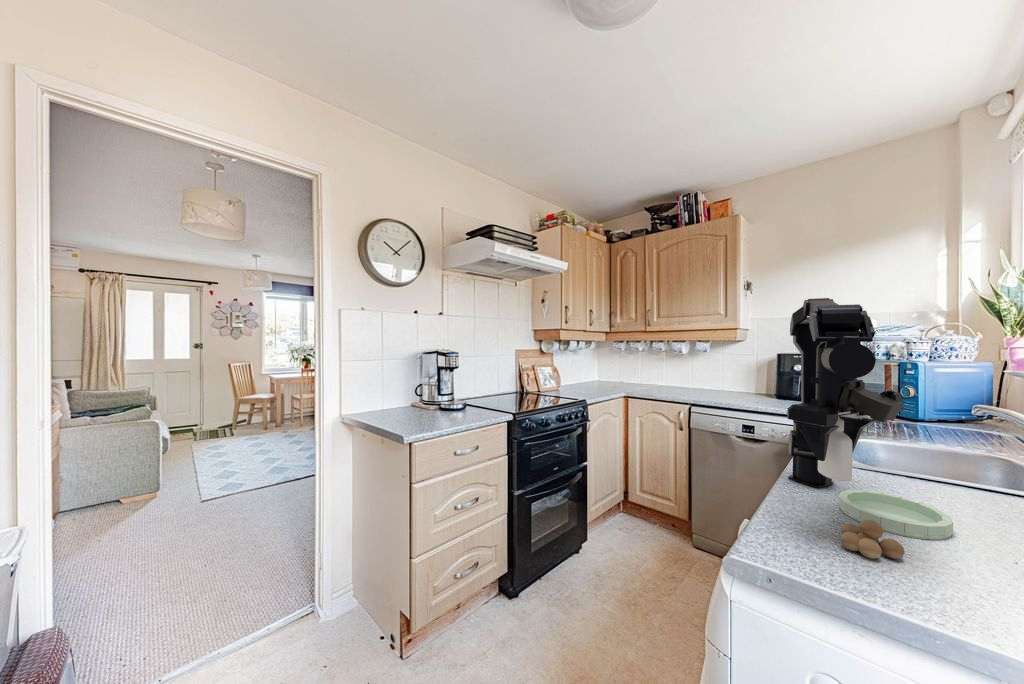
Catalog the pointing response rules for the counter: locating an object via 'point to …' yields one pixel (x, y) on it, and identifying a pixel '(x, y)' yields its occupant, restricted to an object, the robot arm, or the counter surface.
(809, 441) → the robot arm
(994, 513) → the counter surface
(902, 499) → the sage dish
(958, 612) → the counter surface
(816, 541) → the counter surface
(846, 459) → the eye dropper bottle
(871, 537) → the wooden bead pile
